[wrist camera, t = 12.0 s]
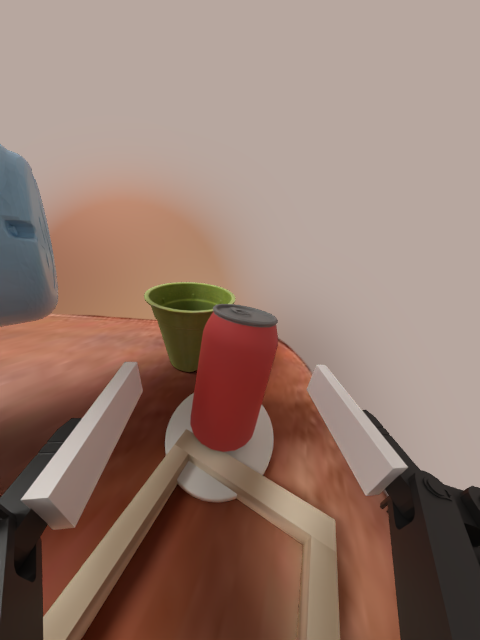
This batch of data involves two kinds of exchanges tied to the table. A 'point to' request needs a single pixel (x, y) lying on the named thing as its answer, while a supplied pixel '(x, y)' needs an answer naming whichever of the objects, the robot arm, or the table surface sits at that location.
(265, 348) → the beer can
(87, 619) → the frame
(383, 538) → the table surface
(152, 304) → the plant pot
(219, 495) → the white plate
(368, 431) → the robot arm
